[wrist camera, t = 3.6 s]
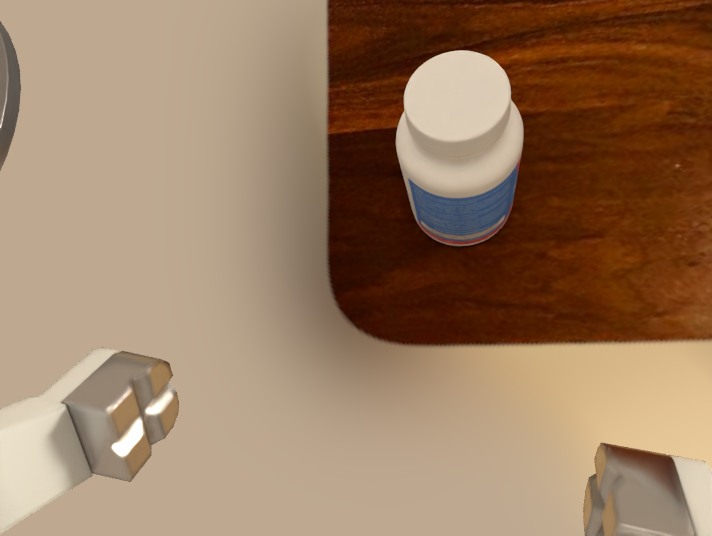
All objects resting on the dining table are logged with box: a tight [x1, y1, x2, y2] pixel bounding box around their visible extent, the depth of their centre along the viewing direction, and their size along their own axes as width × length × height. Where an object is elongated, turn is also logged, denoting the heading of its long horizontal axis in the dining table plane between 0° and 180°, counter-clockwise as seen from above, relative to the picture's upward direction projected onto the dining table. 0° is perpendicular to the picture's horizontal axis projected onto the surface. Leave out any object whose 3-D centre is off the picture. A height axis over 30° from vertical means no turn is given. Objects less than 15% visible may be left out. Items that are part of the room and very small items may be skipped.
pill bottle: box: [396, 51, 523, 246], centre depth 24 cm, size 6×5×10 cm
